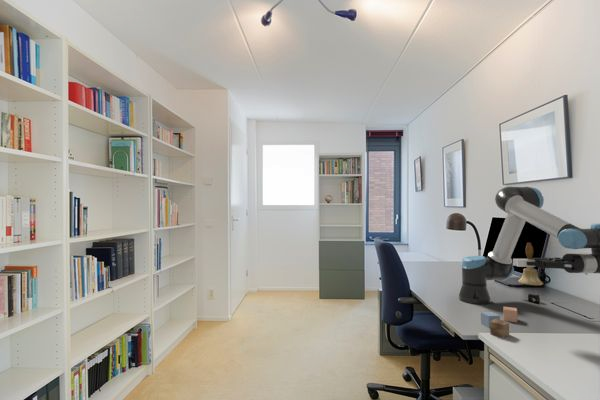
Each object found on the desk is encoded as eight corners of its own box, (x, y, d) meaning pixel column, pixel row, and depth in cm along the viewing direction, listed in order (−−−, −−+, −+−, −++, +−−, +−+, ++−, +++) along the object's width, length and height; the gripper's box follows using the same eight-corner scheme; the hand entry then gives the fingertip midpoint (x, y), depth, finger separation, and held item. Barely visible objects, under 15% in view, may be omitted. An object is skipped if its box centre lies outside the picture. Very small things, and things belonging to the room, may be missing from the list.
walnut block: (490, 334, 130) (490, 321, 130) (495, 331, 133) (494, 318, 134) (504, 338, 126) (504, 324, 127) (509, 334, 130) (508, 322, 130)
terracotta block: (503, 320, 146) (503, 309, 146) (503, 317, 151) (503, 306, 151) (517, 322, 144) (517, 311, 144) (516, 319, 148) (516, 308, 148)
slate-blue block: (481, 324, 142) (480, 312, 142) (491, 323, 142) (491, 311, 143) (488, 328, 137) (488, 316, 137) (500, 327, 138) (499, 315, 138)
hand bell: (536, 286, 126) (535, 244, 126) (513, 282, 133) (512, 242, 133) (547, 284, 129) (547, 243, 130) (525, 279, 137) (524, 241, 137)
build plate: (550, 305, 171) (550, 296, 171) (540, 306, 169) (540, 297, 169) (527, 299, 183) (527, 290, 183) (517, 300, 181) (517, 291, 181)
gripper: (593, 276, 123) (526, 275, 124) (564, 269, 137) (505, 268, 139) (593, 256, 123) (526, 255, 125) (564, 251, 137) (505, 250, 139)
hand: (515, 262), depth 132 cm, fingers closed on hand bell, 2 cm apart
